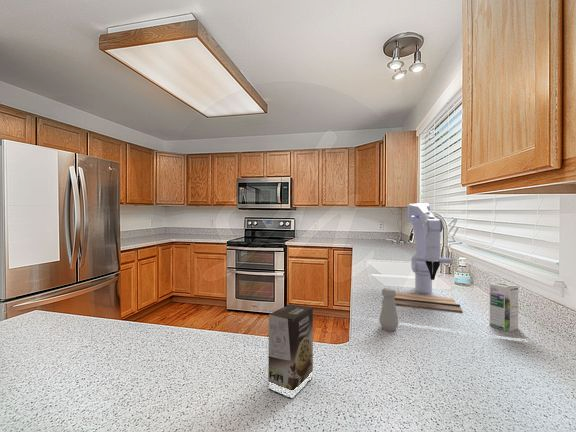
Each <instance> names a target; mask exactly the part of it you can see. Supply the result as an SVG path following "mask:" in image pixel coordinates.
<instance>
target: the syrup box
mask: <svg viewBox="0 0 576 432" xmlns="http://www.w3.org/2000/svg"><path fill="white" fill-rule="evenodd" d="M488 324H489V326H490V327H493V328H495V329H499V330H502V331H505V332H512V331H515V330H518V329H519V285H513V284H510V283H509V284H508V283H504V282H495V281H494V282H492V283H489V323H488Z"/></svg>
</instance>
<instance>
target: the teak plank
mask: <svg viewBox="0 0 576 432" xmlns="http://www.w3.org/2000/svg"><path fill="white" fill-rule="evenodd" d="M394 298H403V299H412V300H422V301H431V302H441V303H450V304H457V302H456V301H455V299H454V298H453V297H446V296H444V297H443V296H436V295H426V294H425V295H424V294H417V293H415V294H414V293H406V292H405V293H403V292H396V296H395V297H394Z"/></svg>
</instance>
